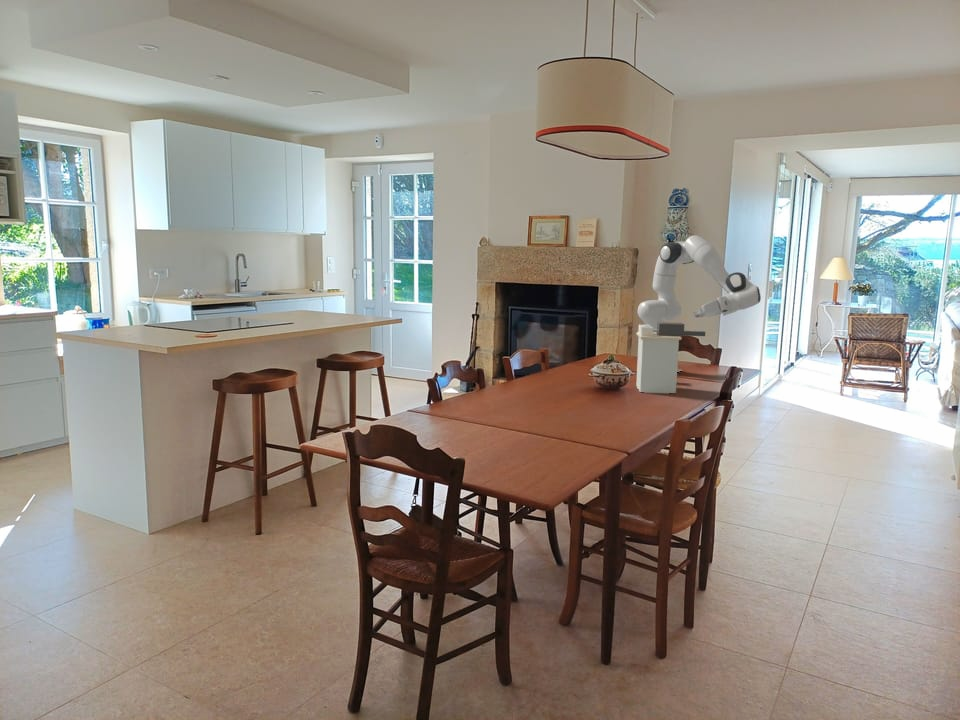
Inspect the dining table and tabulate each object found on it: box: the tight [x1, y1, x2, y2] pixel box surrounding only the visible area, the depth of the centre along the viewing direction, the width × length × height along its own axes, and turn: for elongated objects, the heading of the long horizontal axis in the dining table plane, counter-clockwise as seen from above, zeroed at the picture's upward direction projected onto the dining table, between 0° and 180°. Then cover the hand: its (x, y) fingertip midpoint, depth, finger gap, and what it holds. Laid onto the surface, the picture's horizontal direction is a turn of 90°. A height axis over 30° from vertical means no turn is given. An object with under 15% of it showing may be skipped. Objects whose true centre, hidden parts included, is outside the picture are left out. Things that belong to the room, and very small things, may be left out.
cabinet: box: [635, 331, 683, 394], centre depth 318 cm, size 18×18×26 cm
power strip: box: [637, 323, 653, 336], centre depth 317 cm, size 5×12×4 cm, turn 174°
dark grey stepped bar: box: [653, 321, 706, 337], centre depth 315 cm, size 24×7×6 cm, turn 84°
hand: (694, 315), depth 319 cm, fingers open, 8 cm apart
